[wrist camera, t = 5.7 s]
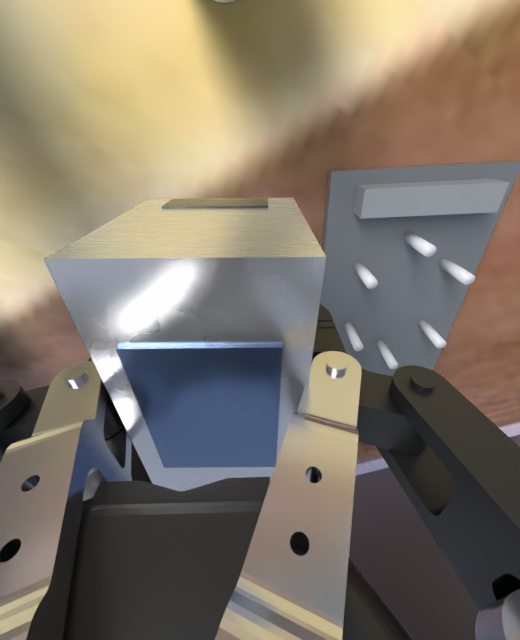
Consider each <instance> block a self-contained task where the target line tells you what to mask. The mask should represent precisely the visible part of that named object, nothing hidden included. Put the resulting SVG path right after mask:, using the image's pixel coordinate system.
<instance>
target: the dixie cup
mask: <svg viewBox="0 0 520 640" xmlns="http://www.w3.org/2000/svg"><path fill="white" fill-rule="evenodd" d="M213 1H216V2H222V3H227V2H232V1H236V0H213Z"/></svg>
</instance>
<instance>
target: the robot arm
mask: <svg viewBox="0 0 520 640" xmlns="http://www.w3.org/2000/svg"><path fill="white" fill-rule="evenodd" d="M358 441H360V442H363V443H367V444H370V445H374V446H376V447H377V448H378V450H379V452H380V453H381V455H382V456H383V458H384V460H385V461H386V463H387V464H388V466H389V468H390V469H391V471H392V472H393V474H394V476H395V477H396V479H397V480H398V482H399V484H400V485H401V487H402V488H403V490H404V492H405V493H406V494H407V496H408V498H409V499H410V501H411V503H412V504H413V506H414V507H415V509H416V511H417V512H418V514H419V515H420V517H421V519H422V520H423V522H424V523H425V525H426V527H427V528H428V530H429V531H430V533H431V535H432V536H433V538H434V539H435V541H436V543H437V544H438V546H439V547H440V549H441V551H442V552H443V554H444V555H445V557H446V558H447V560H448V562H449V563H450V565H451V566H452V568H453V570H454V571H455V573H456V574H457V576H458V578H459V579H460V581H461V582H462V584H463V586H464V587H465V589H466V590H467V592H468V594H469V595H470V597H471V598H472V600H473V602H474V603H475V605H476V606H477V608H478V610H479V611H480V612H479V615H478V617H477V620H476V632H475V633H476V640H520V447H519V446H518V445H517V444H516V443H515V442H513V441H512V440H511V439H510V438H509V437H508V436H507V435H506V434H505V433H504V432H502V431H501V430H500V429H499V428H498V427H497V426H496V425H495V424H494V423H493V422H492V421H490V420H489V419H488V418H487V417H486V416H485V415H484V414H483V413H482V412H481V411H480V410H478V409H477V408H476V407H475V406H474V405H473V404H472V403H471V402H470V401H469V400H467V399H466V398H465V397H464V396H463V395H462V394H461V393H460V392H459V391H458V390H457V389H455V388H454V387H453V386H452V385H451V384H450V383H449V382H448V381H447V380H446V379H445V378H443V377H442V376H441V375H439V374H438V373H436V372H434V371H432V370H430V369H428V368H424V367H421V366H414V365H408V366H403V367H400V368H398V369H397V370H396V371H395V372H394V375H393V376H389V375H384V374H379V373H374V372H370V371H367V370H364V369H362V368H361V366H360V364H359V363H358V361H357V360H356V359H355V358H353V357H352V356H350V355H348V354H347V353H346V350H345V348H344V346H343V343H342V341H341V338H340V336H339V333H338V331H337V328H336V326H335V323H334V321H333V318H332V316H331V313H330V311H329V310H327V309H326V308H325V307H324V306H323V305H319V312H318V319H317V327H316V334H315V341H314V348H313V356H312V363H311V370H310V377H309V378H307V381H306V384H305V388H304V391H303V394H302V397H301V401H300V404H299V407H298V410H297V412H294V413H293V414H292V416H291V419H290V422H289V425H288V428H287V431H286V434H285V437H284V440H283V444H282V447H281V450H280V453H279V456H278V459H277V462H276V465H275V468H274V472H273V475H272V478H271V481H270V477H244V478H226V479H223V480H219V481H216V482H213V483H210V484H206V485H203V486H200V487H196V488H193V489H190V490H187V491H176V490H173V489H169V488H166V487H162V486H159V485H155V484H152V483H148V482H145V481H132V477H131V442H132V440H131V438H130V436H129V434H128V432H127V430H126V428H125V426H124V424H123V422H122V420H121V418H120V416H119V414H118V412H117V409H116V407H115V405H114V403H113V401H112V399H111V397H110V395H109V393H108V391H107V389H106V387H105V385H104V383H103V381H102V379H101V377H100V374H99V372H98V370H97V368H96V366H95V364H94V362H93V360H92V358H90V359H89V360H88V361H85V362H80V363H77V364H74V365H72V366H70V367H68V368H66V369H64V370H63V371H61V372H60V373H59V374H58V375H56V377H55V378H54V379H53V380H52V382H51V384H50V385H49V386H45V387H41V388H38V389H34V390H30V391H26V392H25V390H24V389H23V388H22V387H21V386H20V384H19V383H18V382H16V381H11V380H8V381H1V382H0V640H414V638H413V637H412V636H411V635H410V633H409V632H408V631H407V630H406V628H405V627H404V626H403V625H402V623H401V622H400V621H399V619H398V618H397V617H396V616H395V614H394V613H393V612H392V611H391V609H390V608H389V607H388V605H387V604H386V603H385V602H384V600H383V599H382V598H381V597H380V596H379V594H378V593H377V592H376V590H375V589H374V588H373V587H372V585H371V584H370V583H369V582H368V580H367V579H366V578H365V576H364V575H363V574H362V573H361V571H360V570H359V569H358V567H357V566H356V565H355V564H354V562H353V561H352V560H351V559H350V557H349V546H350V534H351V522H352V511H353V498H354V486H355V474H356V462H357V450H358Z"/></svg>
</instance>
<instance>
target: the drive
mask: <svg viewBox="0 0 520 640" xmlns="http://www.w3.org/2000/svg"><path fill="white" fill-rule="evenodd" d="M44 261H45V263H46V265H47V267H48V269H49V271H50V274H51V276H52V278H53V280H54V282H55V284H56V286H57V288H58V290H59V292H60V294H61V296H62V298H63V300H64V302H65V304H66V306H67V309H68V311H69V313H70V315H71V317H72V319H73V321H74V323H75V325H76V327H77V329H78V331H79V333H80V335H81V337H82V339H83V342H84V344H85V346H86V348H87V350H88V352H89V354H90V356H91V358H92V360H93V362H94V364H95V366H96V368H97V370H98V372H99V374H100V377H101V379H102V381H103V383H104V385H105V387H106V389H107V391H108V393H109V395H110V397H111V399H112V401H113V403H114V405H115V407H116V409H117V412H118V414H119V416H120V418H121V420H122V422H123V424H124V426H125V428H126V430H127V432H128V434H129V436H130V438H131V440H132V442H133V445H134V447H135V449H136V451H137V453H138V455H139V457H140V459H141V461H142V463H143V465H144V467H145V469H146V471H147V473H148V475H149V477H150V480H151V482H152V484H155V485H159V486H162V487H166V488H169V489H173V490H176V491H187V490H190V489H193V488H196V487H200V486H203V485H206V484H210V483H213V482H216V481H219V480H223V479H226V478H244V477H270V481H271V478H272V475H273V472H274V468H275V465H276V462H277V459H278V456H279V453H280V450H281V447H282V444H283V440H284V437H285V434H286V431H287V428H288V425H289V422H290V419H291V416H292V414H293V413H294V412H297V410H298V407H299V404H300V401H301V397H302V394H303V391H304V388H305V384H306V381H307V378H309V377H310V370H311V363H312V356H313V348H314V341H315V334H316V327H317V319H318V312H319V305H320V298H321V291H322V283H323V276H324V269H325V262H326V256H325V254H324V252H323V250H322V248H321V247H320V245H319V243H318V241H317V240H316V238H315V236H314V234H313V232H312V231H311V229H310V227H309V225H308V223H307V222H306V220H305V218H304V216H303V214H302V213H301V211H300V209H299V207H298V206H297V204H296V202H295V200H294V198H210V199H148V200H146V201H144V202H143V203H141V204H139V205H137V206H136V207H134V208H132V209H130V210H129V211H127V212H125V213H123V214H122V215H120V216H118V217H116V218H115V219H113V220H111V221H109V222H108V223H106V224H104V225H102V226H101V227H99V228H97V229H95V230H94V231H92V232H90V233H88V234H87V235H85V236H83V237H81V238H80V239H78V240H76V241H74V242H72V243H71V244H69V245H67V246H65V247H64V248H62V249H60V250H58V251H57V252H55V253H53V254H51V255H50V256H48V257H46V258H44Z"/></svg>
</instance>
